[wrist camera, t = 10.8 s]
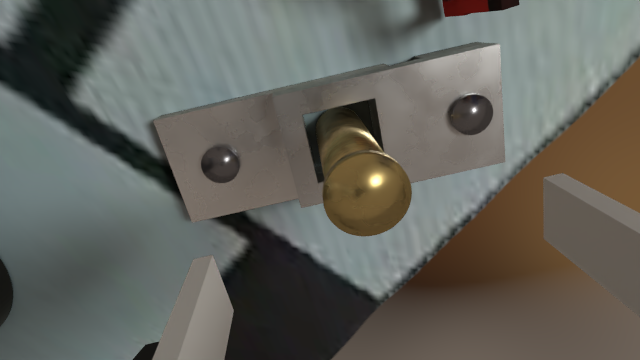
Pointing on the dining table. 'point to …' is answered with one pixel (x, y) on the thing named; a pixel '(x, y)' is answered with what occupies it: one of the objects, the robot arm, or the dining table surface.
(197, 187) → the slotted metal plate
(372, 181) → the brass pin
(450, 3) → the mug
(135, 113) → the dining table surface
